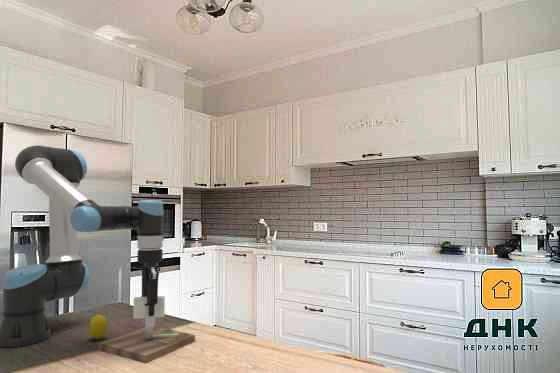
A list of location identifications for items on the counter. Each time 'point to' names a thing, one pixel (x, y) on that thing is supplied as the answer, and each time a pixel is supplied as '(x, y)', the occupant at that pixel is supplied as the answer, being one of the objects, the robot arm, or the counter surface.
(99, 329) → the lemon
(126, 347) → the wooden cutting board
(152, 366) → the counter surface
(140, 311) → the white stand
